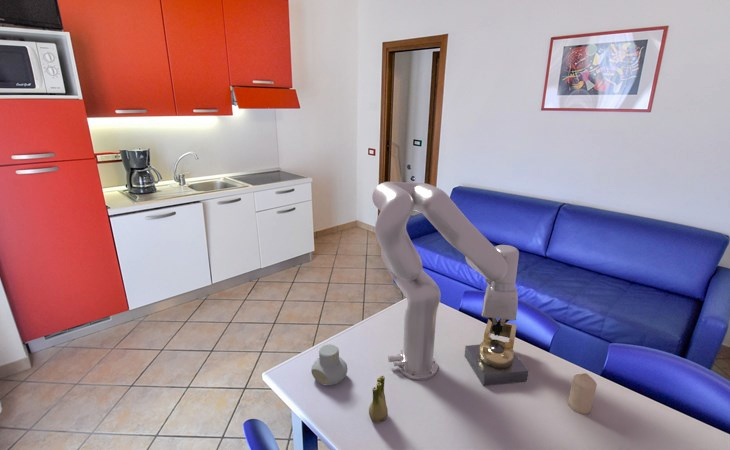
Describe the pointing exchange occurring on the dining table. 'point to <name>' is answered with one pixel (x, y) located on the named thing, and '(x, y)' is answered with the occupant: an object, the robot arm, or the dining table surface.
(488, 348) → the brass mechanical fitting
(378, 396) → the fennel bulb
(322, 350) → the air freshener
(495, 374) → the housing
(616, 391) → the dining table surface
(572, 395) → the candle
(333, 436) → the dining table surface
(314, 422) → the dining table surface
